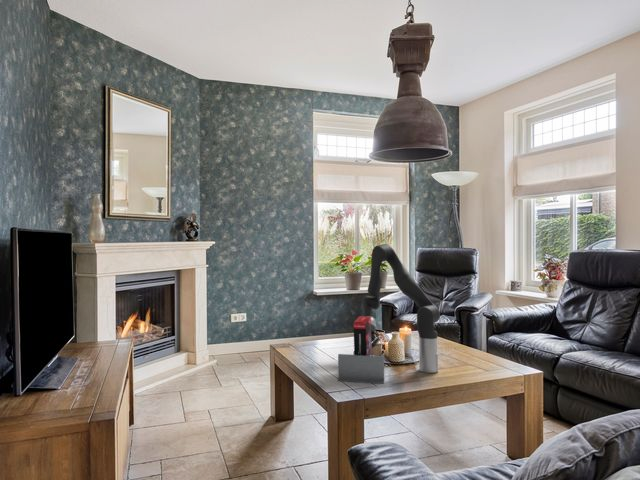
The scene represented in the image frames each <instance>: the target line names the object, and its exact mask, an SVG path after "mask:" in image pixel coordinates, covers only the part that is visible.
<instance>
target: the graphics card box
mask: <svg viewBox="0 0 640 480" xmlns="http://www.w3.org/2000/svg"><path fill="white" fill-rule="evenodd" d="M371 344H372V343H371V317H365V316H364V315H361V316H360V315H359V316H358V317H357V318H356V319H355V320H354V321H353V349H354V350H353V352H354V354H353V355H372V356H373V354H372V351H373V350H372V349H373V348H372V349H371Z"/></svg>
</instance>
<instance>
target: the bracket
mask: <svg viewBox="0 0 640 480" xmlns="http://www.w3.org/2000/svg"><path fill="white" fill-rule="evenodd" d="M337 355H338V357H337V364H338V367H337V368H338V370H337V372H338V373H337V376H338V378H337V381H336V382H344V383H345V382H346V383H362V384H377V385H378V384H379V385H385V356H384V355H373V354H372V355H354V354H349V353H348V354H347V353H338V354H337Z"/></svg>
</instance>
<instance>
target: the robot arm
mask: <svg viewBox="0 0 640 480" xmlns="http://www.w3.org/2000/svg"><path fill="white" fill-rule="evenodd" d="M383 262H387V264H389V266H390V268H391V269H392V274H393V279H394V283H395V284H396V286H397V287H398V289H399V290H400V291H401V292H402V293H403V295H405V296H406V297H407V298H409V299H410V300H412V301H413V302H414V303H415V304H416V305H417V306H418V307H419V309H418V310H417V313H416V327H417V329H416V330H417V332H418V351H419V353H418V354H419V355H418V359H419V360H418V362H419V363H418V364H419V365H418V369H419V372H422V373H427V374H428V373H429V374H433V373H439V356H438V355H439V353H438V348H439V347H438V331H436V330H435V328H434V323H437V322H439V320H440V318H441V313H440V309H438V307H437V306H436V304H434V303H433V301H431V299H430V298H429V297H428V296H427V295H426V293H425V292H424V290H422V288H421V287H420V286H419V284H418V283H417V282H416V280H415V279H414V277H413V276H412V275H411V274H410V273H409V271H408V270H407V268H406V266H405V265H404V263H402V261H401V260H400V258H399V256H398V255H397V253H396V251H395V249H394V248H393V247H392V246H391V245H390V244H388V243H387V244H386V243H384V244H378V245H376V246H373V248H372V250H371V264H370V265H371V266H370V277H369V284H368V287H367V293H368V294H370V295H371V296H370V295H364V296H363V297H362V299H361V306H362V309H363V316H365V317H371V349H373V348H375V346H376V345H378V343H380V340H379V338H377V337H376V326H377V324H376V320H377V319H376V318H377V311H376V310H379V308H380V306H381V297H380V294H381V289H382V285H383V278H382V275H381V267H382V263H383Z"/></svg>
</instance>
